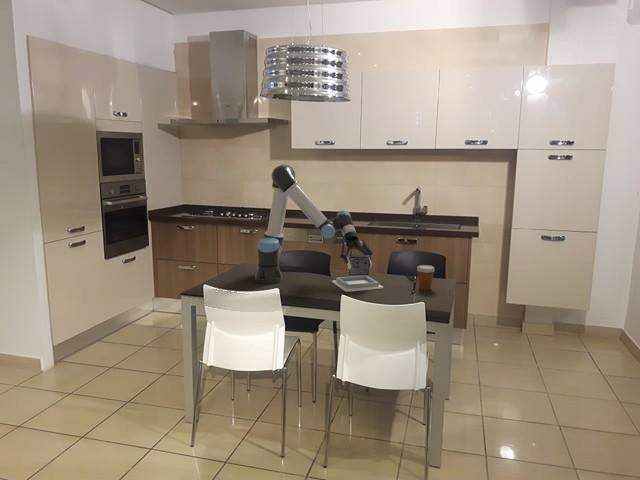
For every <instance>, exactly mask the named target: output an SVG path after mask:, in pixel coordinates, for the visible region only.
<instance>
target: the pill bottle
mask: <svg viewBox="0 0 640 480" xmlns="http://www.w3.org/2000/svg"><path fill="white" fill-rule="evenodd" d="M435 270H436V269H435V267H434V266H433V265H429V264H420V265H418V266H417V267H416V271H417V279H418V281H417V283H418V288H420V289H419V290H422V289H424V290H423V291H427V290H428V289H429V290H432V289H431V288H432V285H433V284H432V283H433V278H434V273H435ZM429 290H428V291H429Z"/></svg>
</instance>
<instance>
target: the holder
mask: <svg viewBox="0 0 640 480" xmlns="http://www.w3.org/2000/svg"><path fill="white" fill-rule="evenodd" d="M335 278H336V279H335V280H332V279H331V283H332V284H334V285H335V286H336V287H338V288H340V289H341V290H342V291H344V292H346V293H349V292H358V291H359V292H360V291H371V290H381V289H383V290H384V285H381V284H380V282H379V281H377V280H375V279H373V278H372V277H370V276H369V275H368V276H366V275H350V276H341V277H335Z"/></svg>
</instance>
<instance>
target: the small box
mask: <svg viewBox="0 0 640 480" xmlns="http://www.w3.org/2000/svg"><path fill="white" fill-rule="evenodd" d="M348 255H349V256H348V257H349V260H350V264H351V269H348V270H349V271H348V274H349V276H364V275H366V276H368V277H369V275H370V274H369V272H370V271H369V270H370V268H369V256H368V255H364V254H348Z"/></svg>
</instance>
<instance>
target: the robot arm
mask: <svg viewBox="0 0 640 480" xmlns="http://www.w3.org/2000/svg"><path fill="white" fill-rule="evenodd" d="M271 180H272V182H271V183H272V185H271V188H272V189H273V194H272V200H271V201H272V202H271V206H270V213H269V219H268V225H267V230H266V231H265V232H264V233H263V238H260V239H259V240H258V242H257V269H256V273H255V276H254V282H256V283H259V284H265V285H266V284H277V283H280V282H282V281H283V275H282V273H281V270H280V265H279V264H280V254H281V253H282V252H283V249H284V239H285V234H283V229H284V223H285V217H286V210H287V205H288V199H289V198H290V199H291V200H292V201H293V203H294V204H295V205H296V206H297V207H298V208H299V209H300V210H301V212H302V213H303V214H304V215H305V217H307V218H308V219H309V220H310V221H311V223H312V225H314V226H315V227H316V228H317V230H318V231H319V233H320V234H321V236H322V237H323V238H325V239H331V238H332V237H333V236H334V235H335V234H336V232H338V231H341V232H342V237H343V239H344V241H343V240H342V241H341V243H340V255H339V258H340V259H342V260H344V262H345V263H344V264H346V265H347V268H348V270H349V269H351V264H350V260H349V256H348V255H349V251H350V250H356V249H357V250H358V251H360V253H362V255H368V256H369V269H370V268H372V266H373V263H372V260H373V259H372V256H373V251H372V250H371V249H370V248H369V246H368V245H367V244H366V242H365V240H359V237H358V234H357V231H356V229H355V224H354V222H353V219H352V216H351V214H350V212H349V211H348V210H346V209H344V210H339V212H337V213H336V217H334V218H331V219H328V218H327V217H326V216H325V215H324V213H323V212H322V211H321V210H320V209H319V208H318V206H316V205H315V203H314V202H313V201H312V199H311V198H310V197H309V196H308V195H307V194H306V193H305V192H304V191H303V189H302V188H301V187H300V186H299V185H298V181H297V180H296V172H295V170H294V168H293V167H292V166H290V165H289V164H280V165H278V166H276V167H274V169H272V172H271ZM345 246H346V247H347V249H346V251H345ZM344 252H345V253H344Z"/></svg>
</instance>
